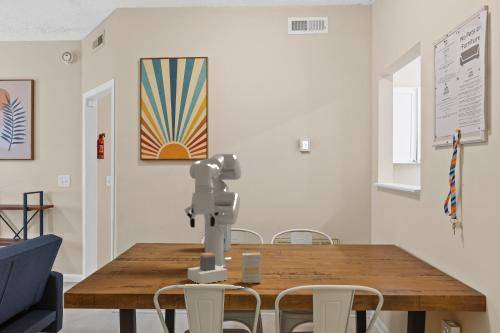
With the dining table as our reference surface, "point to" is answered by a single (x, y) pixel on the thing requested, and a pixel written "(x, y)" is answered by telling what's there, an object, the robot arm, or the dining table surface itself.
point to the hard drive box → (227, 236)
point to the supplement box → (251, 268)
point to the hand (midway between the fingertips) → (202, 226)
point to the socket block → (207, 275)
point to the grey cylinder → (207, 261)
